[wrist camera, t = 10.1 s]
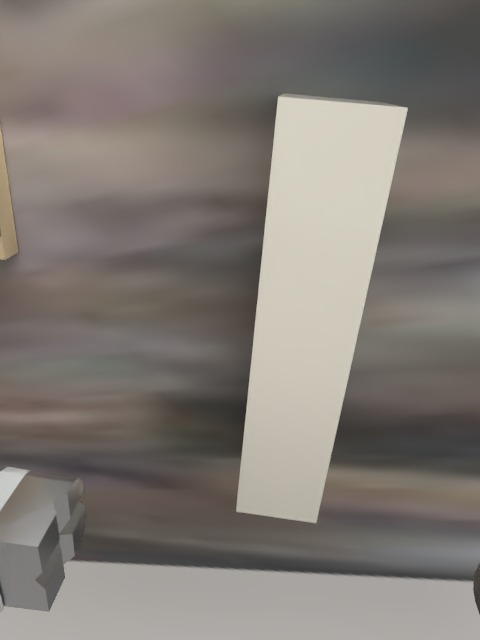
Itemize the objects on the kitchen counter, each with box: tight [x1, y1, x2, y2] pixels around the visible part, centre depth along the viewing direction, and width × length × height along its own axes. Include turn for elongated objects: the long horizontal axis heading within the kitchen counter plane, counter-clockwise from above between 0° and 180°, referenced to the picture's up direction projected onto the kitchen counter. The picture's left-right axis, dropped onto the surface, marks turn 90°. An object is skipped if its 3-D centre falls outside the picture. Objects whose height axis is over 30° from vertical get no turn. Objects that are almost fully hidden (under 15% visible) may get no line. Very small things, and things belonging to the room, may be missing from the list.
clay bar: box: [236, 94, 408, 523], centre depth 17 cm, size 15×3×5 cm, turn 176°
